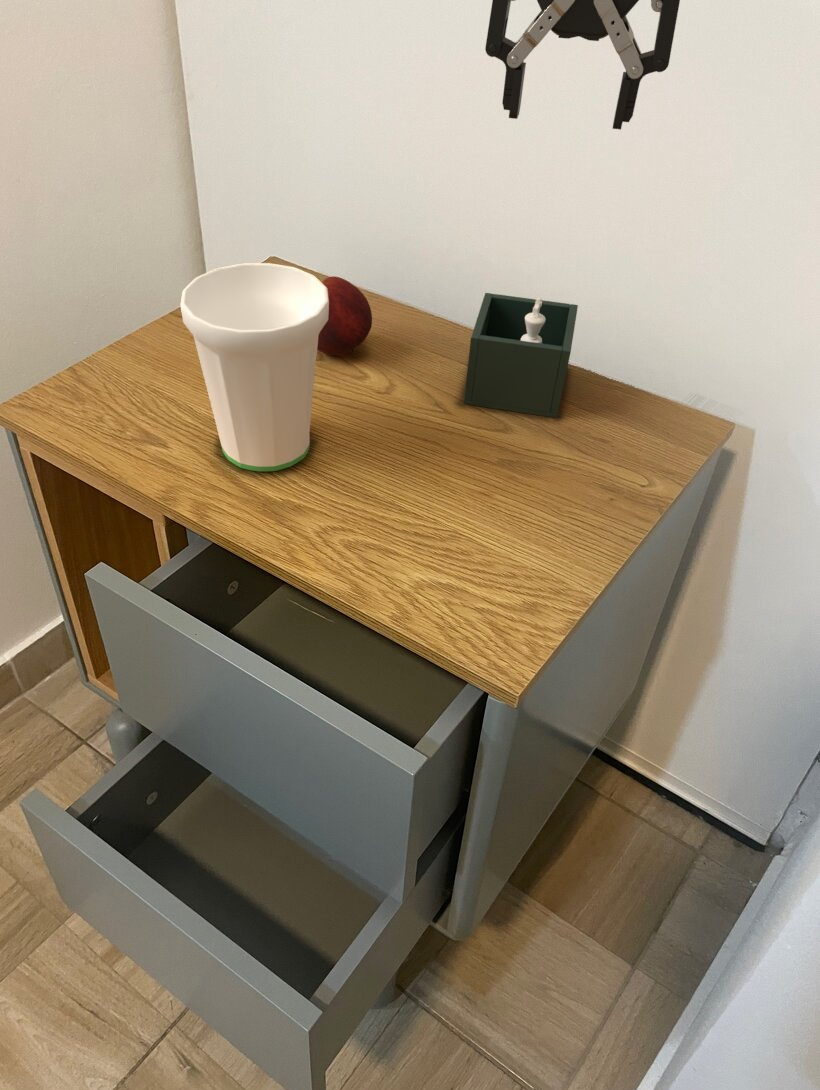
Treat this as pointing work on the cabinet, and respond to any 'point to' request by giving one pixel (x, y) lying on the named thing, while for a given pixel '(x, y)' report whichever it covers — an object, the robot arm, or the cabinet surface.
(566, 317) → the bin
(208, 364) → the cup
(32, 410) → the cabinet surface
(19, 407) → the cabinet surface
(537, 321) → the chess piece
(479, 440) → the cabinet surface
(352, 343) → the apple
